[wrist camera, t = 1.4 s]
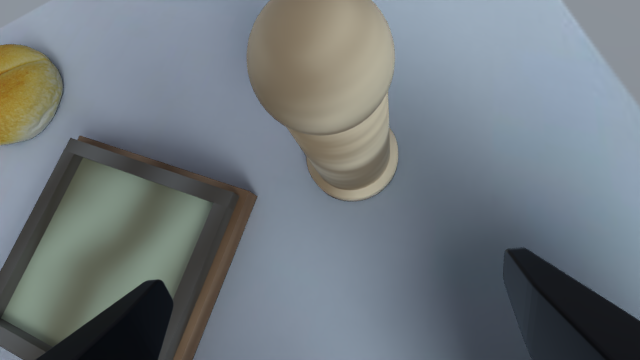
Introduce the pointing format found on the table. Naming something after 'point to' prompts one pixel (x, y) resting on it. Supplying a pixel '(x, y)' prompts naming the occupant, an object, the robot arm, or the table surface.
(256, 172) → the table surface
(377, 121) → the beige round-topped cylinder
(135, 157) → the picture frame
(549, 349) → the robot arm
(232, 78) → the table surface
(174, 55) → the table surface
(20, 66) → the bread roll
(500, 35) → the table surface
